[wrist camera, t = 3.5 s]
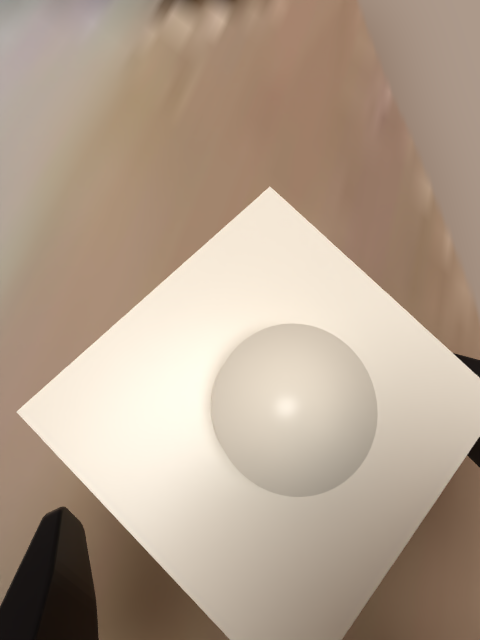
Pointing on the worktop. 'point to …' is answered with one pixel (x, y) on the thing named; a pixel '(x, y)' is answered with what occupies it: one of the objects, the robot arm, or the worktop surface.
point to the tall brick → (266, 427)
